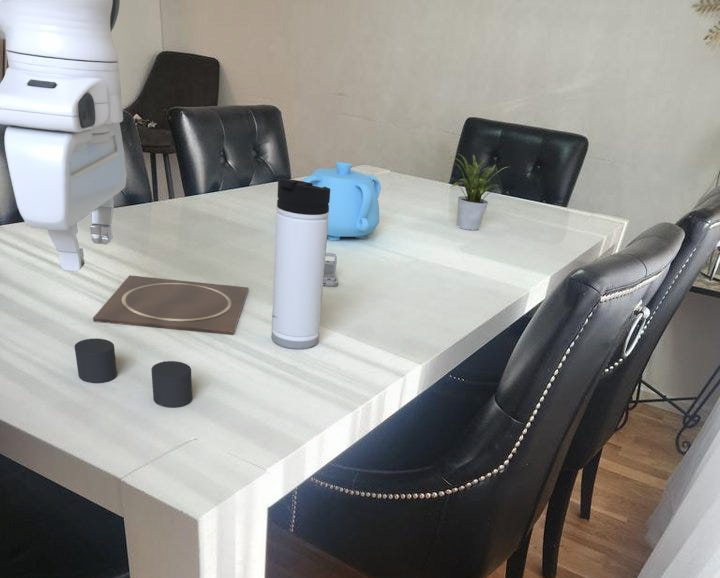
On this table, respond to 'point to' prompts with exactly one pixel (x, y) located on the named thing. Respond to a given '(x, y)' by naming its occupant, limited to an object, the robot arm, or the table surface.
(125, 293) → the board
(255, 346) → the table surface
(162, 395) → the eye puck
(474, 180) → the house plant
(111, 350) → the eye puck
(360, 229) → the decorative pot
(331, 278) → the strap clip
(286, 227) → the travel mug
